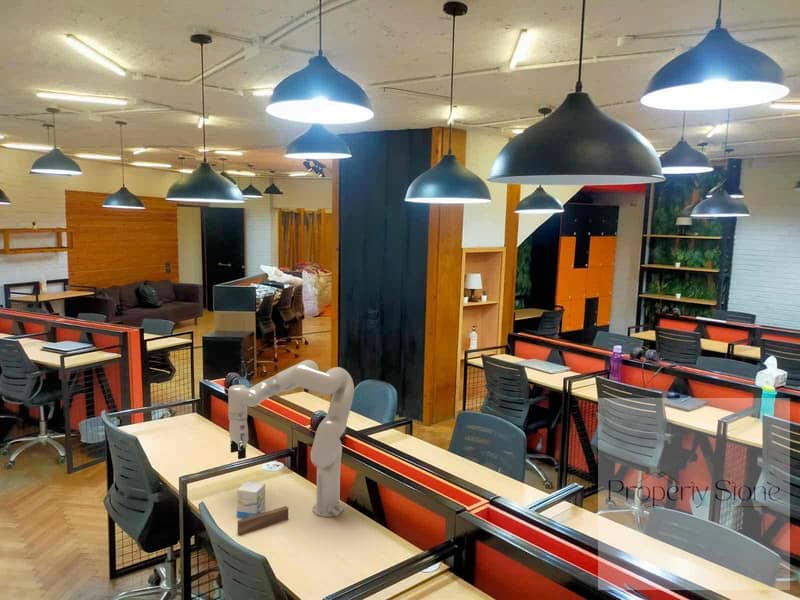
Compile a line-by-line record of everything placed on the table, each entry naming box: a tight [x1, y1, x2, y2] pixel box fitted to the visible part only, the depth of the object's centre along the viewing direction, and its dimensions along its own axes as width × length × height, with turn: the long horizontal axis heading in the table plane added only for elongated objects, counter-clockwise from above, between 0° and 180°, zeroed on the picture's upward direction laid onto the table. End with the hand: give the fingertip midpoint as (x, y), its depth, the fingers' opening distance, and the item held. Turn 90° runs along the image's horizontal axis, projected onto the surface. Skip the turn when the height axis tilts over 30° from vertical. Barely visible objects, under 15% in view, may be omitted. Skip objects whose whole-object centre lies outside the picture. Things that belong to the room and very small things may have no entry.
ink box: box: [236, 480, 266, 519], centre depth 221 cm, size 8×8×12 cm
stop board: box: [237, 505, 289, 536], centre depth 211 cm, size 2×20×5 cm, turn 128°
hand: (238, 454), depth 230 cm, fingers open, 7 cm apart
